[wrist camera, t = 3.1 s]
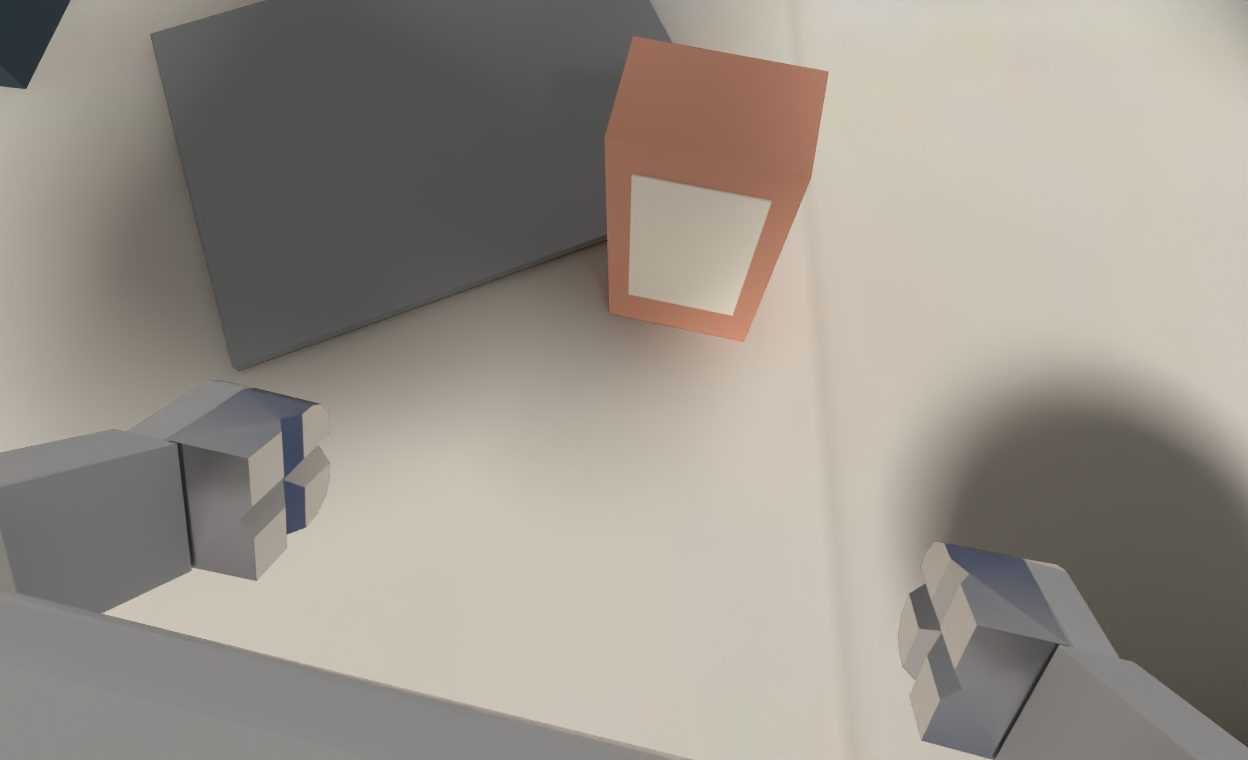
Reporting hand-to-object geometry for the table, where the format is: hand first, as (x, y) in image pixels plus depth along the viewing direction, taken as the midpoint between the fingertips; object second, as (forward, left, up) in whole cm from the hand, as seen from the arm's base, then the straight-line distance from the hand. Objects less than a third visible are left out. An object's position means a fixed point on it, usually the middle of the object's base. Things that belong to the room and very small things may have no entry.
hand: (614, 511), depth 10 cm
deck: (-6, -9, -15) cm, 19 cm away
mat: (0, -20, -15) cm, 25 cm away
